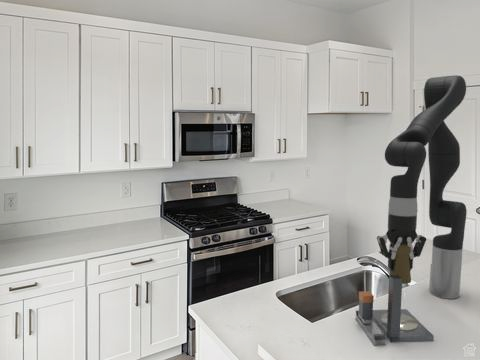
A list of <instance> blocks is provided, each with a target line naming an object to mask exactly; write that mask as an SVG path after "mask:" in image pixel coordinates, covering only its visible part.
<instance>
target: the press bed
mask: <svg viewBox="0 0 480 360" xmlns="http://www.w3.org/2000/svg"><path fill="white" fill-rule="evenodd" d="M402 294H403V284H402V278H401V277H400V276H399V275H388V296H387V298H388V299H387V309H373V316H372V320H373V323H375V325H376V326H377V327H378V328H379V330H380V331H381V332H382V334H385V335H386V339H387V340H388V341H389V342H390V343H402V342H403V343H404V342H405V343H407V342H408V343H409V342H434V341H435V340H434V337H435V336H434V334H432V332H431V331H429V329H427V328H426V327H425V325H423V324H422V323H421V322H420V321H419V320H418V319H417V318H416V317H415V316H414V315H413V314H412V313H411V312H410V311H409V310H407V308H404V309H403V308H402Z"/></svg>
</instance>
